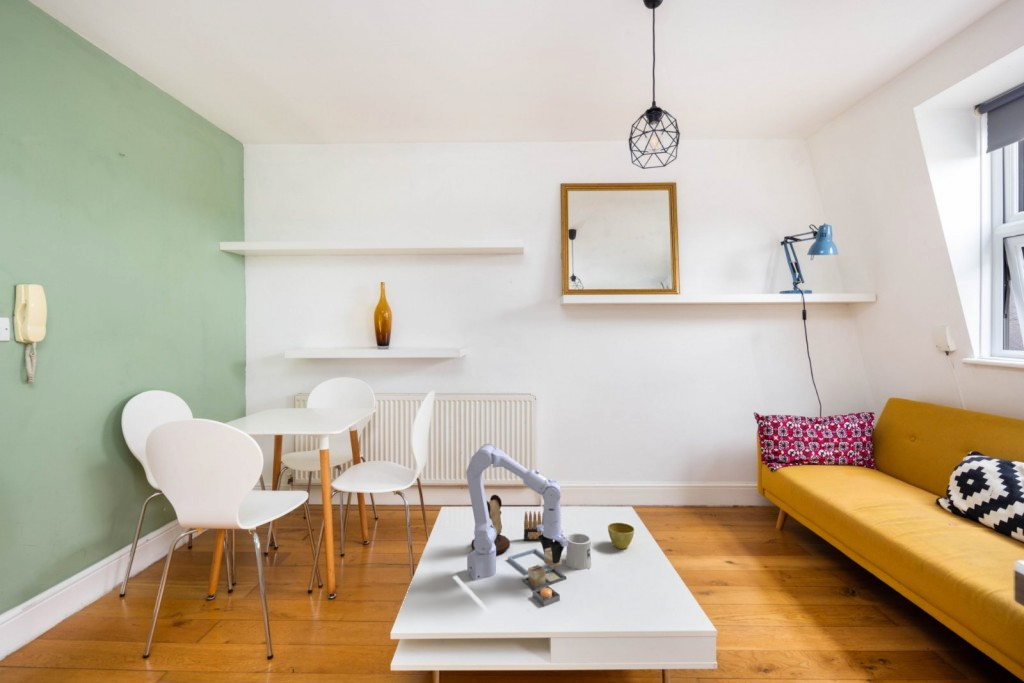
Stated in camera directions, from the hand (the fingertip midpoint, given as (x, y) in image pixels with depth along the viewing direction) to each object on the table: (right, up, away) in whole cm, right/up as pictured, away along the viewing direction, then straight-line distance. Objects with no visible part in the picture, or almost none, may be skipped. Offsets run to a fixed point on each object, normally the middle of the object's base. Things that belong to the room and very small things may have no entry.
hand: (552, 559), depth 154 cm
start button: (-3, -6, -12) cm, 14 cm away
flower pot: (+29, -7, +25) cm, 39 cm away
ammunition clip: (-3, -7, +30) cm, 31 cm away
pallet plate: (-3, -7, -2) cm, 8 cm away
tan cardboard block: (0, -1, 0) cm, 1 cm away
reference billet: (-5, -6, -3) cm, 9 cm away
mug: (+10, -7, +11) cm, 17 cm away
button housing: (-3, -7, -12) cm, 15 cm away
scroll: (-22, -7, +23) cm, 32 cm away
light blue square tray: (-6, -7, +10) cm, 14 cm away
